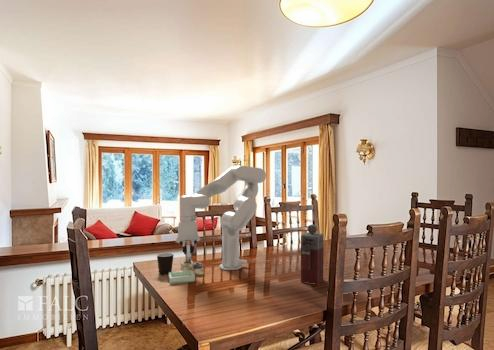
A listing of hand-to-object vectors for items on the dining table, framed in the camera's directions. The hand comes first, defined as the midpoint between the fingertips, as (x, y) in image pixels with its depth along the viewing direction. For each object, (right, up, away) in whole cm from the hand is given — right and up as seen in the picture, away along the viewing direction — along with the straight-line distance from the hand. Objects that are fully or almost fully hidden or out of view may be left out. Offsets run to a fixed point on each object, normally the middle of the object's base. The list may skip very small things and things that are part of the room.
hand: (188, 253), depth 177 cm
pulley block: (+2, -11, 0) cm, 11 cm away
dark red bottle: (+63, -11, -13) cm, 65 cm away
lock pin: (0, -5, 0) cm, 5 cm away
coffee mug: (-12, -11, +2) cm, 17 cm away
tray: (-2, -11, -11) cm, 15 cm away
